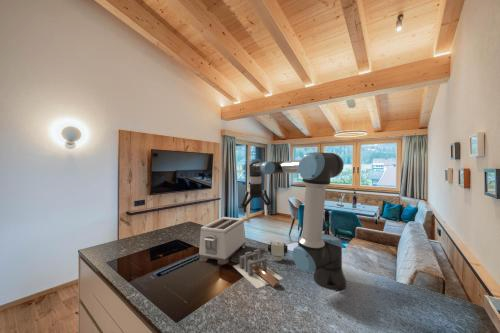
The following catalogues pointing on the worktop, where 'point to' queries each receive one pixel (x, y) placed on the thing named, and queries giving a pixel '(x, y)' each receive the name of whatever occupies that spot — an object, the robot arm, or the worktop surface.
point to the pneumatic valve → (277, 250)
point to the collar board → (253, 279)
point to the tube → (266, 275)
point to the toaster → (221, 239)
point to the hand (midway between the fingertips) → (256, 216)
